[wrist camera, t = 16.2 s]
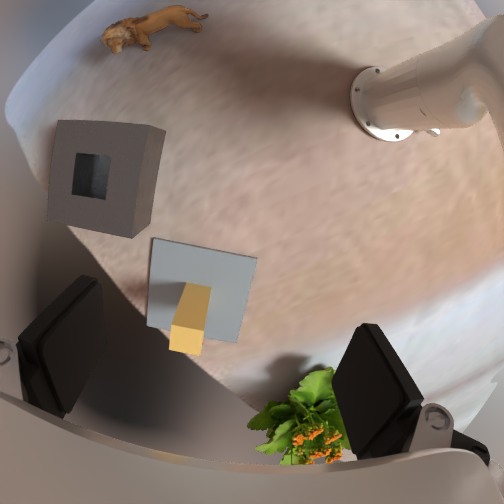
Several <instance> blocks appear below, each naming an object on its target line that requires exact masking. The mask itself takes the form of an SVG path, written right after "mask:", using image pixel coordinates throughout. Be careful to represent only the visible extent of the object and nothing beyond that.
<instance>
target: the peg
mask: <svg viewBox="0 0 504 504" xmlns="http://www.w3.org/2000/svg"><path fill="white" fill-rule="evenodd" d="M211 288H212V287H208V286H203V285H198V284H193V283H188V282H186V285H185V288H184V291H183V293H182V296H181V299H180V302H179V304H178V307H177V310H176V313H175V316H174V318H173V321H172V324H171V334H170V346H169V349H170V350H174V351H178V352H183V353H188V354H193V355H198V356H200V353H201V347H202V341H203V335H204V329H205V323H206V317H207V311H208V305H209V299H210V293H211Z"/></svg>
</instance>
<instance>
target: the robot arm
mask: <svg viewBox="0 0 504 504" xmlns="http://www.w3.org/2000/svg"><path fill="white" fill-rule="evenodd" d="M375 71H376V72H375ZM355 90H356V91H357V92H356V91H355ZM350 102H351V107H352V110H353V113H354V115H355V117H356V119H357V121H358V122H359V124H360V125H361V126H362V127H363V128H364V129H365V131H366V132H368V133H369V134H370V135H372V136H373V137H375V138H377V139H379V140H382V141H387V142H397V141H401V140H403V139H405V138H407V137H408V136H410V135H411V134H412V132H413V131H414V130H420V131H423V130H424V131H426V132H427V133H428V134H430V135H432V136H434V137H437V136H438V135H439V132H440V129H452V128H467V127H471V126H473V125H475V124H476V123H478V122H479V121H480V120H481V119H482V118H483V117H484V116H485V114H486V113H487V111H489V113H490V115H491V118H492V120H493V123H494V124H495V127H496V130H497V133H498V136H499V139H500V142H501V145H502V148H503V152H504V15H497V16H493V17H490V18H488V19H486V20H484V21H482V22H480V23H479V24H477V25H476V26H474V27H473V28H471V29H470V30H468V31H467V32H465V33H464V34H462V35H461V36H459V37H457V38H455V39H454V40H452V41H450V42H447V43H445V44H443V45H441V46H439V47H436V48H434V49H432V50H429V51H427V52H425V53H423V54H420V55H418V56H416V57H413V58H411V59H409V60H407V61H405V62H402V63H400V64H398V65H396V66H394V67H392V68H390V69H388V68H384V67H371V68H368V69H366V70H364V71H362V72H361V73H359V74H358V75H357V76H356V78H355V79H354V81H353V83H352V86H351V90H350ZM366 124H367V125H366ZM18 340H19V342H18V343H17V344H16V345H15V344H14V342H12V341H11V340H9V339H6V338H0V504H504V469H503V468H502V467H501V466H499V465H498V464H497V463H496V462H495V461H493V460H491V461H490V455H489V452H488V449H487V447H486V446H485V445H483V444H482V443H480V442H478V441H476V440H474V439H472V438H470V437H468V436H466V435H464V434H462V433H460V432H458V431H456V430H454V429H453V427H454V420H453V418H452V415H451V414H450V412H449V411H448V410H447V409H446V408H444V407H443V406H441V405H438V404H435V403H430V404H426V405H425V406H424V407H422V406H421V403H422V401H423V400H424V398H423V396H422V394H421V392H420V391H419V389H418V387H417V386H416V384H415V382H414V381H413V379H412V377H411V376H410V374H409V372H408V371H407V369H406V368H405V366H404V364H403V363H402V361H401V360H400V358H399V356H398V355H397V353H396V352H395V350H394V349H393V347H392V345H391V344H390V342H389V341H388V339H387V338H386V336H385V335H384V333H383V332H382V330H381V329H380V327H379V326H378V325H377V324H369V323H363V324H362V325H361V326H360V327H357V328H356V330H355V332H354V334H353V336H352V339H351V341H350V343H349V345H348V347H347V349H346V351H345V353H344V355H343V358H342V360H341V362H340V364H339V366H338V368H337V370H336V372H335V373H334V375H333V378H332V382H331V384H332V389H333V392H334V395H335V398H336V401H337V404H338V407H339V411H340V414H341V417H342V420H343V424H344V427H345V430H346V434H347V437H348V440H349V444H350V447H351V450H352V453H353V454H356V456H357V461H349V462H340V463H329V464H313V465H255V464H241V463H230V462H221V461H212V460H204V459H198V458H192V457H186V456H181V455H176V454H171V453H166V452H161V451H157V450H153V449H149V448H145V447H141V446H137V445H133V444H130V443H127V442H123V441H120V440H117V439H114V438H111V437H108V436H105V435H102V434H99V433H96V432H94V431H91V430H88V429H86V428H83V427H81V426H78V425H75V424H73V423H70V422H68V421H65V420H63V418H64V416H65V414H66V413H70V412H71V411H72V408H73V407H74V405H75V403H76V401H77V399H78V397H79V395H80V394H81V392H82V390H83V388H84V386H85V385H86V383H87V381H88V379H89V377H90V376H91V374H92V372H93V370H94V369H95V367H96V365H97V363H98V362H99V360H100V358H101V357H102V355H103V353H104V351H105V349H106V346H107V339H106V331H105V322H104V312H103V299H102V286H101V284H100V283H98V280H97V279H96V278H94V277H90V276H86V275H81V276H80V277H79V278H78V279H76V280H75V281H74V282H73V283H72V284H71V285H70V286H69V287H68V288H67V289H65V290H64V291H63V292H62V293H61V294H60V295H59V296H58V297H57V298H56V299H55V300H54V301H53V302H52V303H51V304H50V305H49V306H48V307H47V308H46V309H45V310H44V311H43V312H42V313H41V314H40V315H39V316H38V317H37V318H36V319H35V320H34V321H33V322H32V323H31V324H30V325H29V326H28V327H27V328H26V329H25V330H24V331H23V332H22V333H21V334H20V335H19V336H18ZM489 461H490V462H489Z"/></svg>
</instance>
